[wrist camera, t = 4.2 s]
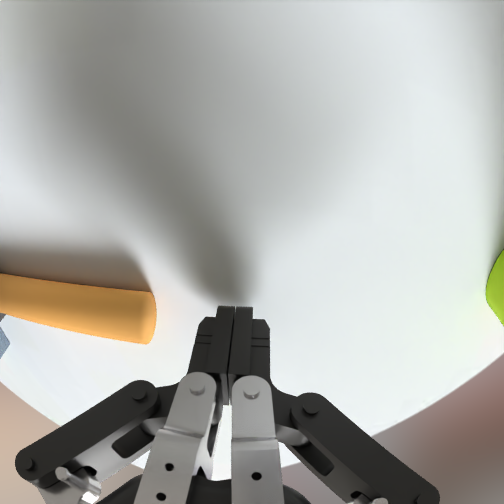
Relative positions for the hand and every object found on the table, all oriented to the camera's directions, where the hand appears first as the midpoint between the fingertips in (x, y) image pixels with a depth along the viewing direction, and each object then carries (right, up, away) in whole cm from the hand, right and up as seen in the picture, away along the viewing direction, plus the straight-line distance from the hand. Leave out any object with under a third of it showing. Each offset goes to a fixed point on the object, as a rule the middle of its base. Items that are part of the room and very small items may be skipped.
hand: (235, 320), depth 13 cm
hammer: (-12, +1, +1) cm, 12 cm away
